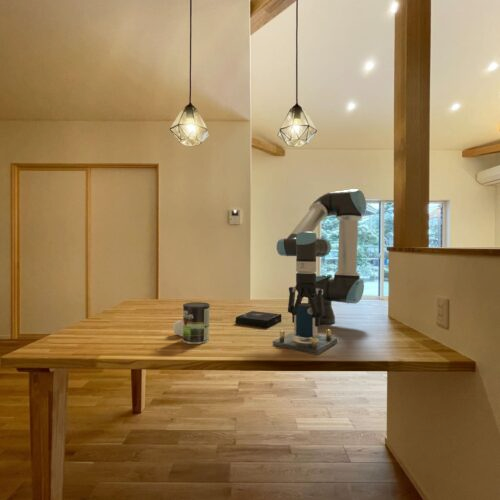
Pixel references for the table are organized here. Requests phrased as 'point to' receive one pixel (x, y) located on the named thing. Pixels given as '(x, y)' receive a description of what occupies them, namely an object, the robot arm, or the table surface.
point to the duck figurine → (178, 327)
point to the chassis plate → (306, 342)
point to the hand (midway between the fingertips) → (305, 333)
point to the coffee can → (196, 323)
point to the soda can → (304, 320)
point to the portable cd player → (258, 319)
